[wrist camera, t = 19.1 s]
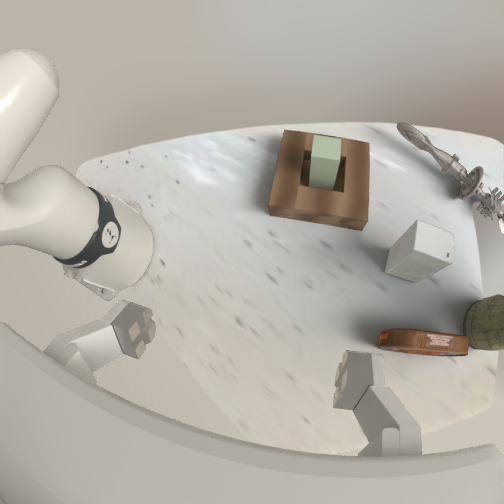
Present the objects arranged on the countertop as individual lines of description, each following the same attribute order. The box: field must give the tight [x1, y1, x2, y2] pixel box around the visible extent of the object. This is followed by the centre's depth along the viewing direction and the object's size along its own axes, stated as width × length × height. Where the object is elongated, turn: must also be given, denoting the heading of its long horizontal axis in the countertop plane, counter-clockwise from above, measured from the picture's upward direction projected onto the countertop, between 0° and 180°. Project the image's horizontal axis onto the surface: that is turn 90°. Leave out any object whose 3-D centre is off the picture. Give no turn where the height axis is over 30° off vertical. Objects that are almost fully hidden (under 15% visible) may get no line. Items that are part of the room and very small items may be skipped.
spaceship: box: [397, 123, 504, 234], centre depth 37 cm, size 8×35×8 cm
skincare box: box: [385, 220, 454, 283], centre depth 34 cm, size 6×4×12 cm
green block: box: [309, 135, 341, 191], centre depth 40 cm, size 4×4×9 cm
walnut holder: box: [268, 130, 370, 231], centre depth 43 cm, size 15×15×4 cm
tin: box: [377, 329, 469, 356], centre depth 32 cm, size 15×3×8 cm, turn 77°
